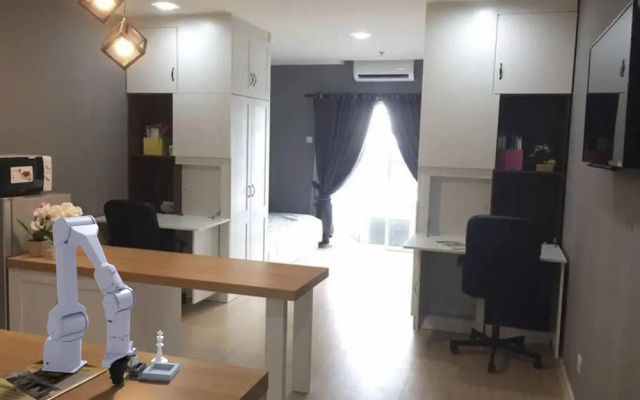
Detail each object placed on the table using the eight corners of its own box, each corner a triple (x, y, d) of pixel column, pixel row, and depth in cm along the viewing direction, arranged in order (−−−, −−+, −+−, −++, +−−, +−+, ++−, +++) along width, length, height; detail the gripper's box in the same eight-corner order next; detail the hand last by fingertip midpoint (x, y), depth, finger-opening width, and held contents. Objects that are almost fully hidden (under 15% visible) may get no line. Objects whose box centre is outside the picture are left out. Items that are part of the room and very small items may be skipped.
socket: (109, 377, 152) (109, 370, 151) (123, 365, 160) (123, 358, 160) (141, 380, 151) (141, 373, 151) (153, 367, 160) (153, 360, 160)
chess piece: (162, 367, 161) (163, 334, 160) (147, 365, 161) (148, 332, 161) (170, 361, 165) (171, 329, 164) (155, 359, 166) (156, 327, 165)
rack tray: (142, 379, 152) (142, 372, 151) (152, 368, 159) (152, 361, 159) (170, 381, 151) (170, 374, 151) (179, 370, 159) (179, 363, 159)
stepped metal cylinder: (124, 374, 154) (124, 350, 154) (128, 369, 157) (129, 346, 157) (135, 375, 154) (135, 351, 153) (139, 370, 157) (140, 347, 157)
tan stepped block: (113, 385, 147) (113, 377, 147) (120, 378, 151) (120, 371, 151) (123, 386, 147) (124, 378, 147) (130, 379, 151) (130, 372, 151)
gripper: (121, 345, 137) (120, 396, 139) (143, 326, 152) (142, 373, 153) (94, 342, 138) (93, 394, 139) (119, 324, 152) (117, 371, 153)
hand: (117, 383), depth 146 cm, fingers closed
